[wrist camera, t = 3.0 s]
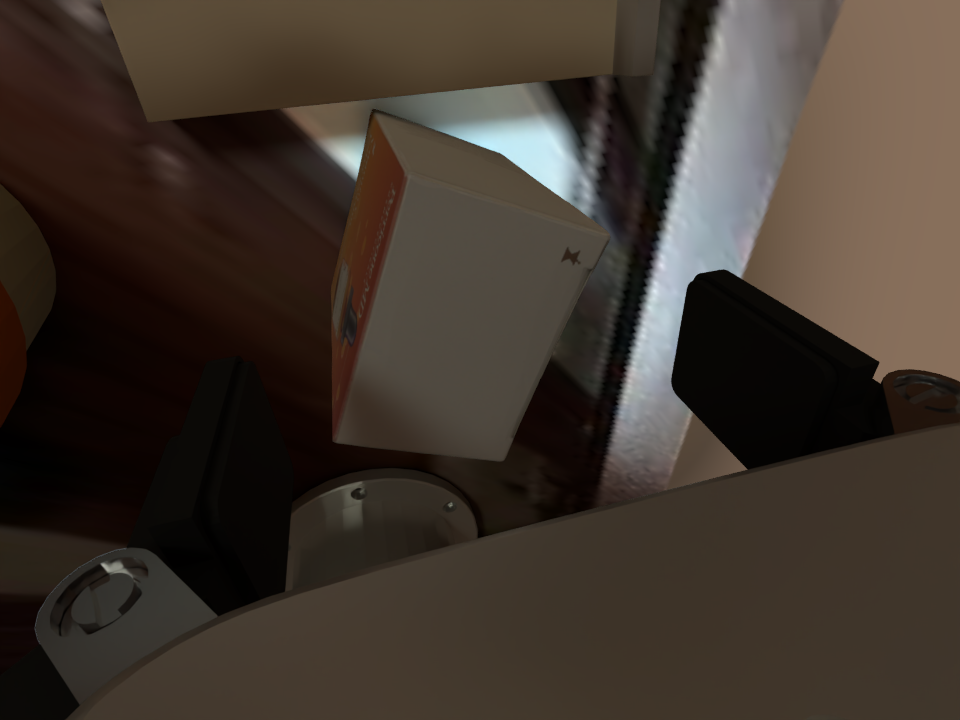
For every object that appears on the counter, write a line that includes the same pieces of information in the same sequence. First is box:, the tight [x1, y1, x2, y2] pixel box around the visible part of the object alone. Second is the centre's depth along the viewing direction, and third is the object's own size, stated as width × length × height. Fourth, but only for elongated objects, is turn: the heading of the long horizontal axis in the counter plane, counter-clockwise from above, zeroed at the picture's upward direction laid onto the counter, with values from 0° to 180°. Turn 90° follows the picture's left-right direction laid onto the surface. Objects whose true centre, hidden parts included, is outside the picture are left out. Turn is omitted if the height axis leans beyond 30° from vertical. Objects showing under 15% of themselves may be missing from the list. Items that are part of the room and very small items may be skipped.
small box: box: [331, 109, 610, 462], centre depth 18 cm, size 8×6×10 cm
